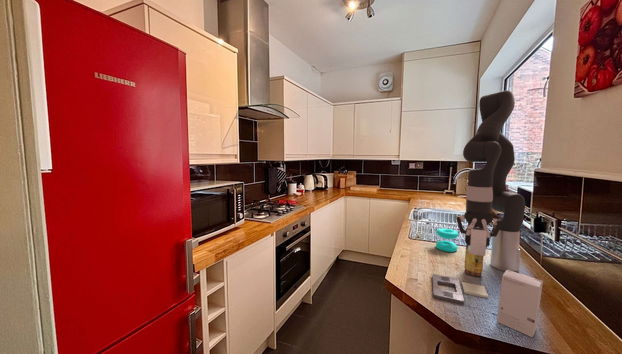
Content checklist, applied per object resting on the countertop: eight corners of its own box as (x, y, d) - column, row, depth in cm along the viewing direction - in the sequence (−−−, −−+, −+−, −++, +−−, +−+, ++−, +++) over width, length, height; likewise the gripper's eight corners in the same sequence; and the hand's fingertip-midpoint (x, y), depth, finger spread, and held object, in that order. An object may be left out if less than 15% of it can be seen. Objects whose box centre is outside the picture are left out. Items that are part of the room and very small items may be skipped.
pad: (483, 288, 89) (483, 286, 89) (488, 298, 82) (488, 296, 82) (461, 283, 92) (461, 281, 92) (464, 293, 85) (464, 291, 85)
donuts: (432, 228, 128) (446, 226, 131) (431, 246, 129) (445, 244, 132) (448, 234, 118) (463, 232, 122) (447, 254, 119) (462, 251, 122)
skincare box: (496, 322, 71) (499, 274, 69) (502, 313, 74) (505, 268, 73) (535, 339, 64) (539, 286, 63) (539, 329, 68) (543, 279, 66)
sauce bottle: (476, 278, 95) (479, 230, 94) (460, 272, 101) (463, 226, 99) (485, 274, 98) (488, 227, 97) (469, 268, 104) (472, 224, 102)
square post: (482, 251, 87) (483, 226, 86) (485, 256, 83) (486, 230, 82) (467, 249, 89) (469, 225, 88) (470, 253, 85) (471, 228, 84)
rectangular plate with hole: (458, 281, 93) (458, 278, 93) (464, 304, 79) (464, 300, 79) (432, 276, 97) (432, 273, 97) (433, 297, 83) (433, 294, 83)
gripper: (501, 198, 84) (498, 245, 86) (454, 195, 90) (452, 239, 92) (507, 202, 77) (504, 253, 79) (456, 199, 84) (454, 246, 85)
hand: (476, 245), depth 85 cm, fingers closed on square post, 4 cm apart
